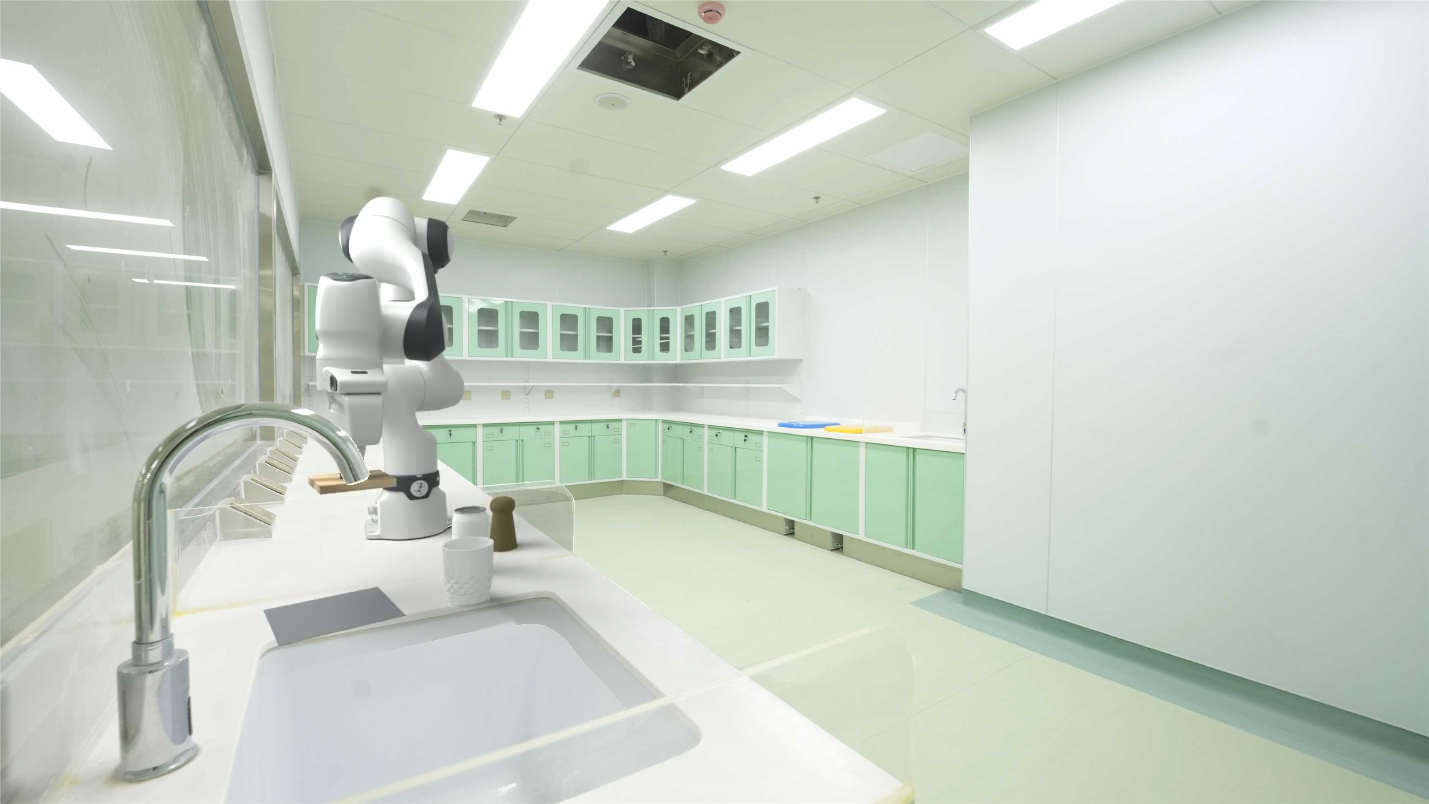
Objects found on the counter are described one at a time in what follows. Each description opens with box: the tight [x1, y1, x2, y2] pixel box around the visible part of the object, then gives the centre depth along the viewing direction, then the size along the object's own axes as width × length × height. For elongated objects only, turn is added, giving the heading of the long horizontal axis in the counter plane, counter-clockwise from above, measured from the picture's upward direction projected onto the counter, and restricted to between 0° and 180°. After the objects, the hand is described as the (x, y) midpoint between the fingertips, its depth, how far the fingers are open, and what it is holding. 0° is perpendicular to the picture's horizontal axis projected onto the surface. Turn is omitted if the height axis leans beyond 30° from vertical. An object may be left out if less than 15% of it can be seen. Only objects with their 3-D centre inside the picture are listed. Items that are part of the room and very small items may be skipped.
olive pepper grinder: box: [489, 495, 518, 553], centre depth 132 cm, size 6×6×11 cm
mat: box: [263, 586, 406, 647], centre depth 95 cm, size 16×16×1 cm
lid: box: [307, 459, 397, 495], centre depth 95 cm, size 10×10×5 cm
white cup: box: [442, 537, 494, 607], centre depth 102 cm, size 8×8×10 cm
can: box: [451, 505, 490, 540], centre depth 117 cm, size 6×6×12 cm
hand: (352, 469), depth 95 cm, fingers closed on lid, 3 cm apart
